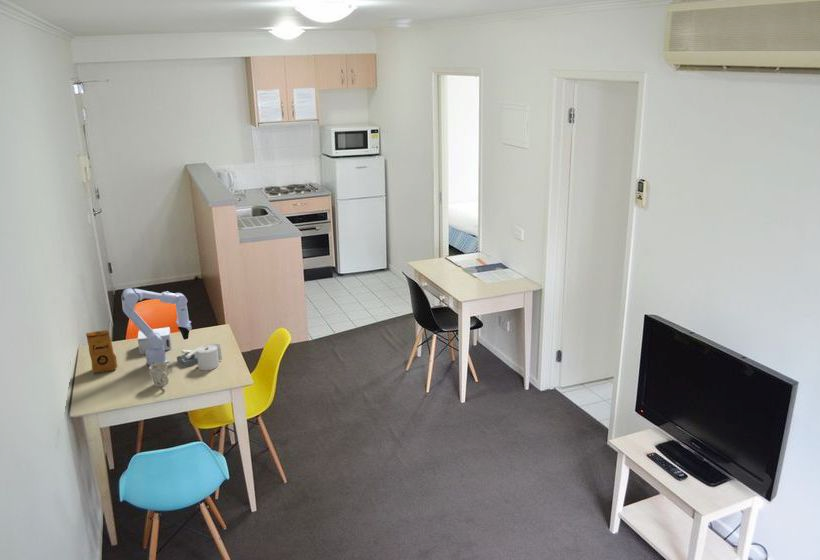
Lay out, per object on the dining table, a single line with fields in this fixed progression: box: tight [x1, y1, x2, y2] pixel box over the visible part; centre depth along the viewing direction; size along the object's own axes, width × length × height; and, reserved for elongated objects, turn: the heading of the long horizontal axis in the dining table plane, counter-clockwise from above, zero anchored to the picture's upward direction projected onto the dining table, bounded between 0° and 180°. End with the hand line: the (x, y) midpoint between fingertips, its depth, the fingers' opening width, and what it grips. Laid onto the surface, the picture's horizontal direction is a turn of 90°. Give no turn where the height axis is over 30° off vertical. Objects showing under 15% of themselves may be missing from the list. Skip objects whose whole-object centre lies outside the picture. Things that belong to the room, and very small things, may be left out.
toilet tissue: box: [195, 343, 223, 371], centre depth 347 cm, size 11×12×10 cm
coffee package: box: [85, 329, 118, 374], centre depth 343 cm, size 10×12×22 cm
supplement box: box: [137, 326, 173, 355], centre depth 371 cm, size 17×13×9 cm
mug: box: [149, 363, 170, 388], centre depth 326 cm, size 8×13×10 cm, turn 51°
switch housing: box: [176, 352, 198, 368], centre depth 353 cm, size 11×9×5 cm
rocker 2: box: [185, 349, 196, 359], centre depth 351 cm, size 6×3×1 cm, turn 133°
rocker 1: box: [181, 349, 193, 355], centre depth 354 cm, size 6×3×1 cm, turn 134°
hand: (185, 338), depth 358 cm, fingers closed
